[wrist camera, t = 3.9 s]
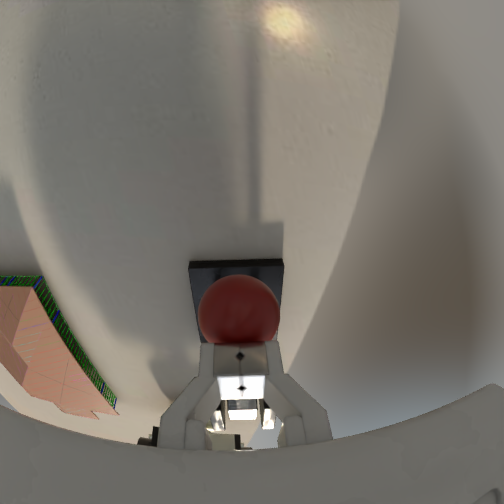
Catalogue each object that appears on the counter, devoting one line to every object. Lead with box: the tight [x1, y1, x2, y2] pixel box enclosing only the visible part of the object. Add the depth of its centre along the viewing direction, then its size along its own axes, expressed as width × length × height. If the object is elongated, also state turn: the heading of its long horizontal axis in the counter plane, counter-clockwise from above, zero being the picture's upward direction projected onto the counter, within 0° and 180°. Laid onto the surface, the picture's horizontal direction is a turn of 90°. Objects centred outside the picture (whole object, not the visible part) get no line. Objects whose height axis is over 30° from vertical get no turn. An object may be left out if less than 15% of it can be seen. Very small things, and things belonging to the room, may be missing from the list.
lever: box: [198, 274, 280, 420], centre depth 16 cm, size 15×4×4 cm, turn 179°
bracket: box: [188, 259, 284, 431], centre depth 24 cm, size 11×9×14 cm
